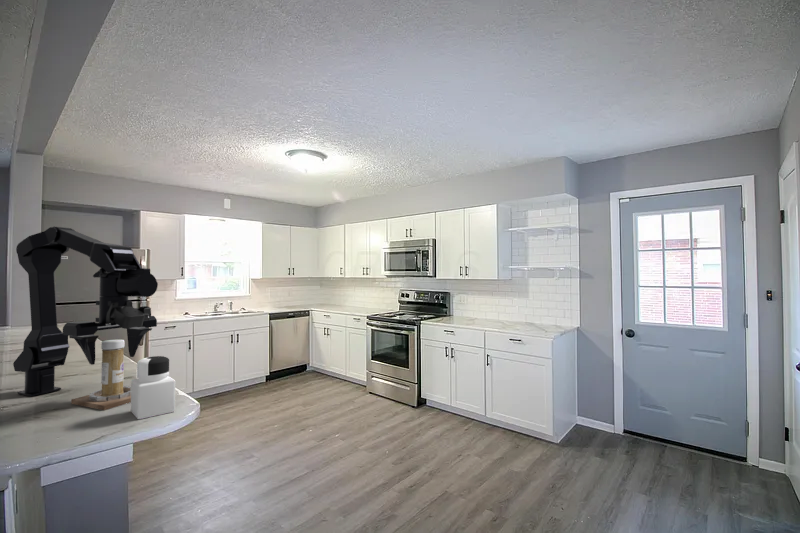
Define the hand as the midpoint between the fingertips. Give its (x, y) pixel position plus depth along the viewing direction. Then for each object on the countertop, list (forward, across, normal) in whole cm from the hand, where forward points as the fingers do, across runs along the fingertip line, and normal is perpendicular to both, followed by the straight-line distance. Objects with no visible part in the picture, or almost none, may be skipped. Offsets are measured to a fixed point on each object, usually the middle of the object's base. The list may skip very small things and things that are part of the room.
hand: (112, 360), depth 96 cm
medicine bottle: (+10, -2, -17) cm, 20 cm away
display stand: (+10, 0, 0) cm, 10 cm away
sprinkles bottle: (+9, 0, 0) cm, 9 cm away
